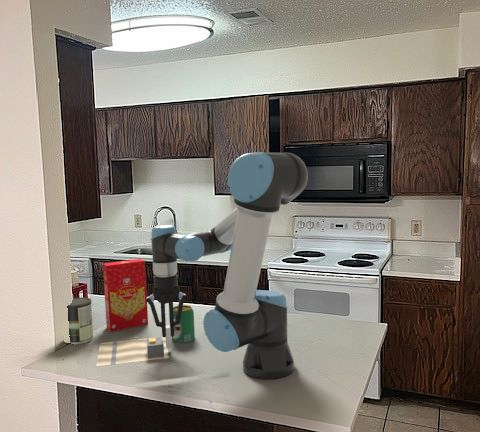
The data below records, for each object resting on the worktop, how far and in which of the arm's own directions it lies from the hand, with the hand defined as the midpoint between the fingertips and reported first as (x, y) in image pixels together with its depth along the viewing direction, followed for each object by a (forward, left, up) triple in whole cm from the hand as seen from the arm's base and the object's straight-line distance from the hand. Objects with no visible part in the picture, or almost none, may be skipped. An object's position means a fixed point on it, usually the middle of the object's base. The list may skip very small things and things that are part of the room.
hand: (168, 346), depth 155 cm
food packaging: (+35, +13, -3) cm, 37 cm away
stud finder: (0, +4, -2) cm, 5 cm away
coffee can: (+25, +30, -3) cm, 39 cm away
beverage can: (+11, -6, -3) cm, 13 cm away
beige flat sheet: (+5, +11, -3) cm, 13 cm away
